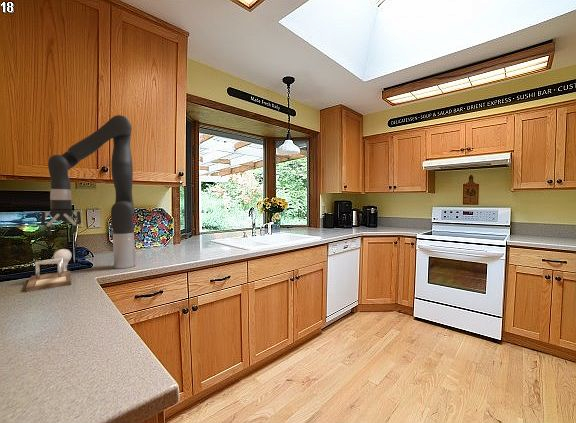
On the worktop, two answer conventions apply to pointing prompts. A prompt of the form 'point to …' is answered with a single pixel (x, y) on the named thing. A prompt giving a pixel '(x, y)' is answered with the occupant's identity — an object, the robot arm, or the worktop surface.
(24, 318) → the worktop surface
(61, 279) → the cork pad
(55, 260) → the silver arch frame
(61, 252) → the lightbulb
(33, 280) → the walnut board
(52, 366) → the worktop surface
